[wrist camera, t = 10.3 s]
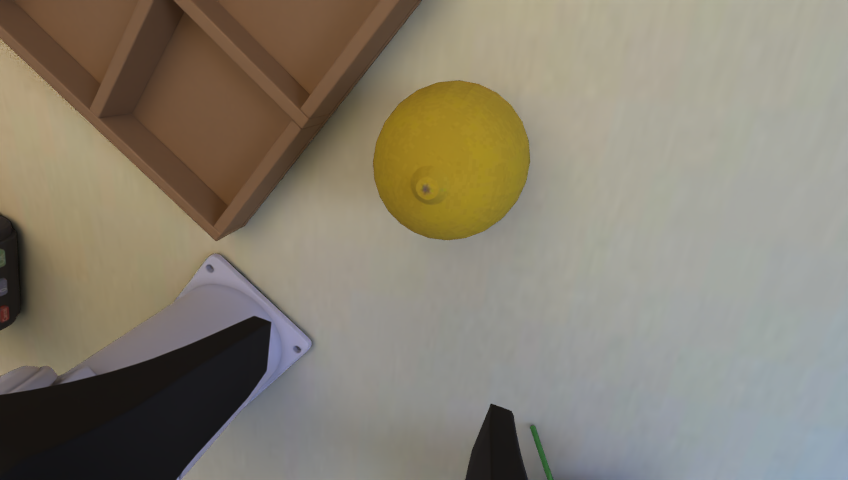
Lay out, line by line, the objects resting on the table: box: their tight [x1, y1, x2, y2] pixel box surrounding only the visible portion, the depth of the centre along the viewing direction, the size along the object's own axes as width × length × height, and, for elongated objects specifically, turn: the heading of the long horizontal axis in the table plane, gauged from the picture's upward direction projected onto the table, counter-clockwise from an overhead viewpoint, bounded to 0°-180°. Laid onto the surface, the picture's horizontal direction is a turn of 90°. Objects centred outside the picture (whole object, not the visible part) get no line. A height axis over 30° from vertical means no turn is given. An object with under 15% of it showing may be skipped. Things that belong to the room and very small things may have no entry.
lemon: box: [373, 81, 530, 240], centre depth 16 cm, size 6×6×8 cm
